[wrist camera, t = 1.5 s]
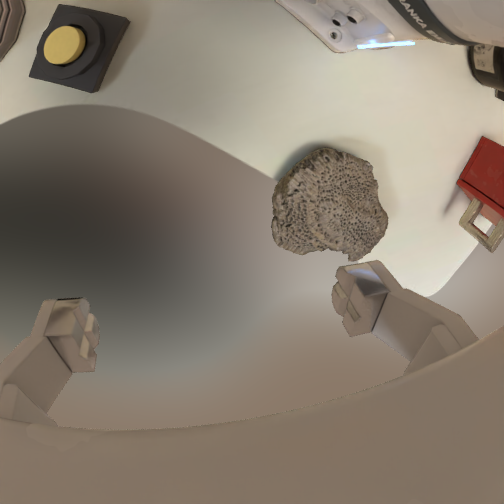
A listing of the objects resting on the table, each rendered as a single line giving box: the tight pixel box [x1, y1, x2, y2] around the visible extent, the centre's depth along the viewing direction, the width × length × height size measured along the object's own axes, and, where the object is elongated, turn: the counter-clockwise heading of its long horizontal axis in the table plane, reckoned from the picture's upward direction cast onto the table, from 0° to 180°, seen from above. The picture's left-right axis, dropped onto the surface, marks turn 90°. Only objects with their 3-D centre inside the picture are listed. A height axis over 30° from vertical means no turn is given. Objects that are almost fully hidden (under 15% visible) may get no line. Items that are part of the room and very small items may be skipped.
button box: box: [29, 4, 130, 93], centre depth 19 cm, size 8×8×4 cm
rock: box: [271, 148, 388, 261], centre depth 35 cm, size 15×16×5 cm
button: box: [44, 26, 86, 64], centre depth 17 cm, size 4×4×2 cm
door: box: [457, 179, 504, 253], centre depth 37 cm, size 6×14×16 cm, turn 61°
